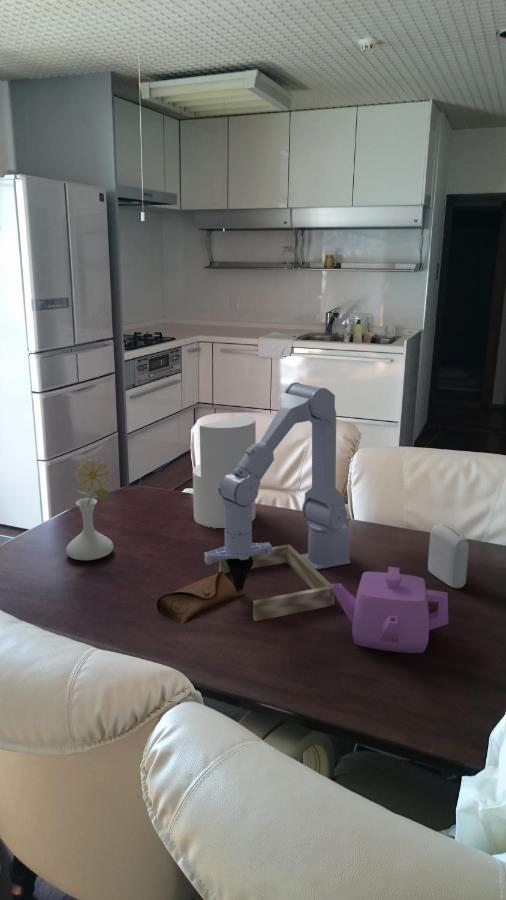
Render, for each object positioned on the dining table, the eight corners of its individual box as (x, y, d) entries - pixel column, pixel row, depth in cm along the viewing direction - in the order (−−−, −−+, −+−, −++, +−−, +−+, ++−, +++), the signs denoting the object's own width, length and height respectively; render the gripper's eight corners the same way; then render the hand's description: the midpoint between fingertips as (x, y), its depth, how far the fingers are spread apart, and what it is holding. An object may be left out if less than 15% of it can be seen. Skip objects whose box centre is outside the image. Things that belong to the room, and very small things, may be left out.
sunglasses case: (182, 625, 127) (170, 593, 128) (164, 629, 132) (153, 598, 133) (247, 593, 139) (236, 564, 140) (228, 598, 144) (218, 570, 145)
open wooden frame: (289, 559, 155) (289, 544, 154) (334, 605, 135) (334, 587, 133) (219, 571, 149) (219, 555, 148) (255, 621, 128) (255, 603, 127)
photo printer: (424, 570, 150) (428, 520, 146) (440, 567, 151) (444, 518, 148) (451, 590, 141) (457, 538, 137) (468, 587, 142) (473, 535, 139)
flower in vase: (56, 560, 155) (47, 461, 148) (85, 541, 165) (77, 448, 158) (102, 569, 150) (94, 467, 143) (128, 550, 160) (123, 454, 153)
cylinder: (268, 516, 182) (268, 419, 174) (223, 534, 170) (222, 431, 162) (225, 501, 193) (224, 410, 185) (181, 517, 181) (178, 420, 173)
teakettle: (453, 641, 122) (459, 582, 118) (388, 671, 113) (392, 608, 110) (389, 603, 136) (393, 549, 132) (326, 626, 127) (328, 569, 123)
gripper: (211, 542, 129) (212, 603, 132) (277, 532, 134) (276, 590, 137) (200, 529, 135) (202, 587, 139) (264, 519, 140) (264, 576, 144)
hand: (238, 588), depth 138 cm, fingers closed
